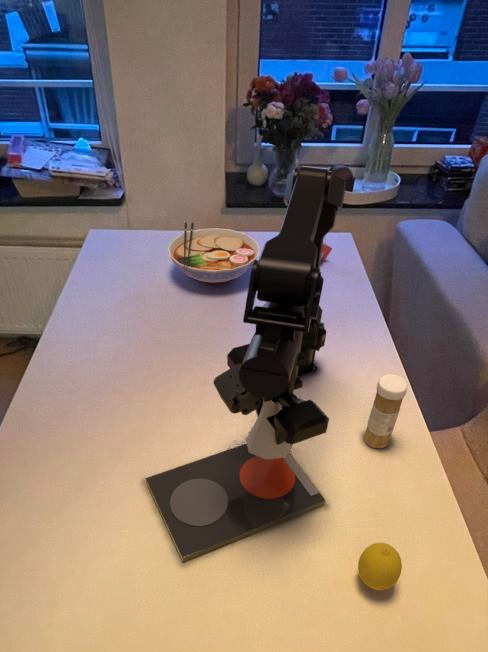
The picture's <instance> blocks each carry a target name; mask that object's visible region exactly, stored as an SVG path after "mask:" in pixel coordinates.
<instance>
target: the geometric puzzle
mask: <svg viewBox="0 0 488 652" xmlns="http://www.w3.org/2000/svg"><path fill="white" fill-rule="evenodd" d="M326 236H327V235H325V236H324V238H327V237H326ZM332 249H333V247H332V246H331V244H329V245H328V244H327V241H326V240H325V242H323V247H322V254H321V262H326V260H327V258H328V256H329V255H330V253H331V251H333V250H332Z"/></svg>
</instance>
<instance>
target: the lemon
mask: <svg viewBox="0 0 488 652" xmlns="http://www.w3.org/2000/svg"><path fill="white" fill-rule="evenodd" d="M402 568H403V564H402V558H401V555H400V553H399V552H398V551H397V549H396V548H395V547H394V546H392V545H391V544H388V543H385V542H375V543H372V544H370V545H368V546H367V547H366V548H365V549H363V551H362V553H360V556H359V559H358V563H357V571H358V575H359V577H360V579H361V581H362V582H363V583H364V584H365V585H366V586H367V587H368V588H370V589H372V590H376V591H384V590H388V589H390V588H392V587H393V586H395V584H396V583H397V582H398V581H399V579H400V577H401V575H402Z"/></svg>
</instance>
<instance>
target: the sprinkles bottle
mask: <svg viewBox="0 0 488 652" xmlns="http://www.w3.org/2000/svg"><path fill="white" fill-rule="evenodd" d="M407 390H408V382H407V381H406V379H405V378H403V377H402V376H400V375H397V374H389V373H388V374H385V375H382V376H380V378H379V379H378V382H377V384H376V393H375V397H374V400H373V404H372V406H371V410H370V413H369V417H368V421H367V426H366V429H365V432H364V434H363V441H364V442H365V443H366V444H367V445H368V446H369V447H371V448H373V449H384V448H386V447H388V446H389V444H390V442H391V436H392V433H393V431H394V429H395V426H396V422H397V420H398V417H399V414H400V411H401V406H402V402H403V399H405V396H406V395H407Z"/></svg>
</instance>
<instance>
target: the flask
mask: <svg viewBox="0 0 488 652" xmlns="http://www.w3.org/2000/svg"><path fill="white" fill-rule="evenodd" d="M281 407H282V406H281V404H280V403H278V404H275V405H274V404H273V403H272V402H271V401H267V402H264V400H263V405H262V409H261V412H260V414H259V416H258V417H257V418H256V420H255V422H254V424H253V426H252V428H251V429H250V430H249V432H248V433H247V436H246V438H245V442H246V443H247V446H248V451H249V453H251V454H254V455H256V456H259V457H261V458H263V459H277V458H285V457H286V455H287V454H288V452H290V451H291V449H292V447H293V446H294V444H293V445H292V444H288V443H286V442H284V443H282V444H279V445H277V444H276V441H275V429H274V428H273V427H272V425H271V424H270V423H269V421H268V420H267V419H266V418H267V417H270V416H273V415H276V414H277V413H278V412H279V411H280V408H281Z"/></svg>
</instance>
